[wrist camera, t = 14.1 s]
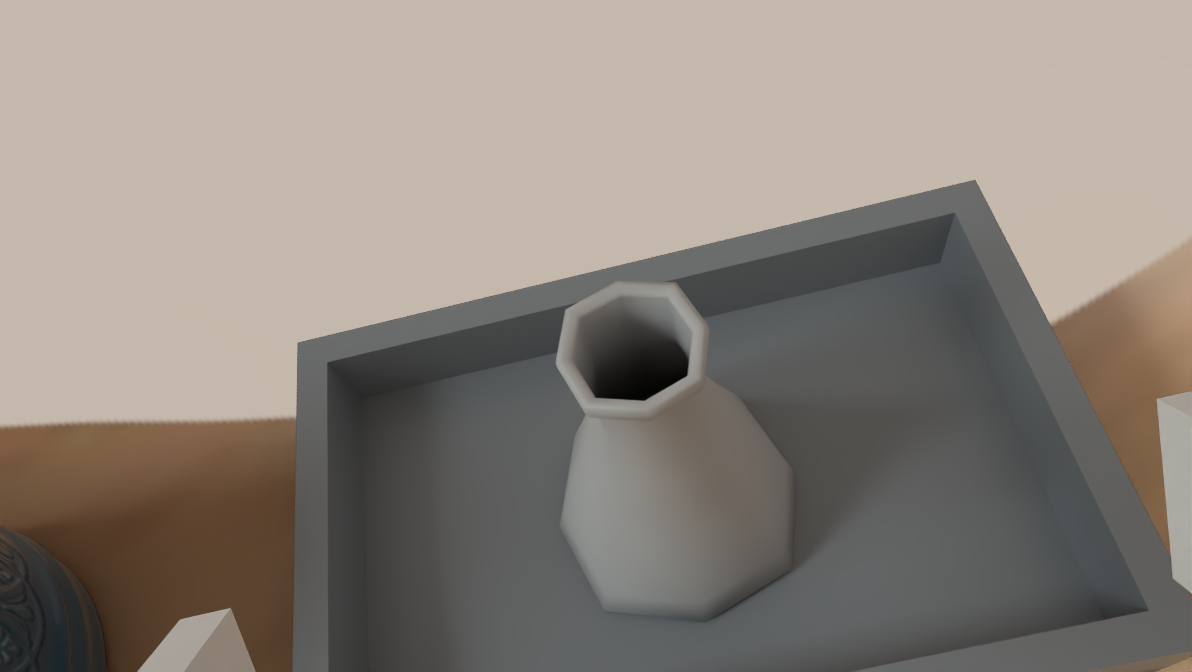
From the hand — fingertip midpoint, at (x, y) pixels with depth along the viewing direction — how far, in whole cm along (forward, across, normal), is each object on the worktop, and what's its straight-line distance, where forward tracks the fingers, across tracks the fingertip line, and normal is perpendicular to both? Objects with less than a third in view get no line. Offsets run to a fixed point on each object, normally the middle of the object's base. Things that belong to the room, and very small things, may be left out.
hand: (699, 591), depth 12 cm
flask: (+13, 0, -5) cm, 14 cm away
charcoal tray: (+14, 0, -6) cm, 15 cm away
